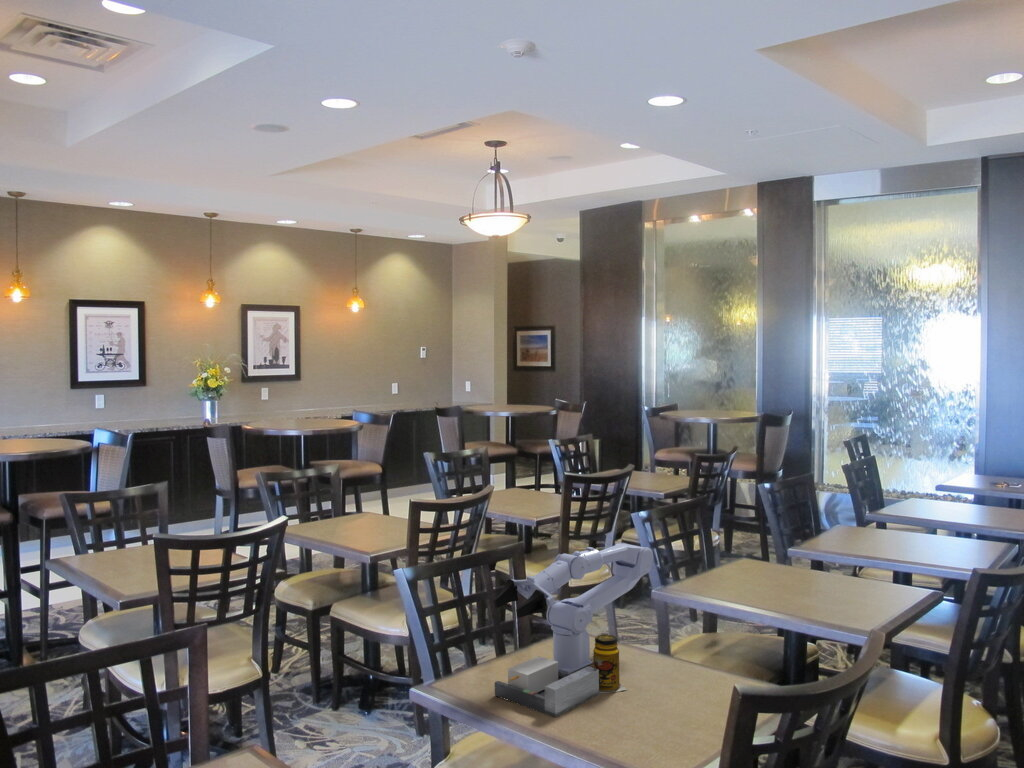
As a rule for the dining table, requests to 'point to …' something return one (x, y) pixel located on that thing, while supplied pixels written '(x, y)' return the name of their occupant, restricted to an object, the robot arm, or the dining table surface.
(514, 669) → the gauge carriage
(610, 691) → the condiment
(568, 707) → the gauge frame
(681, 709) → the dining table surface
